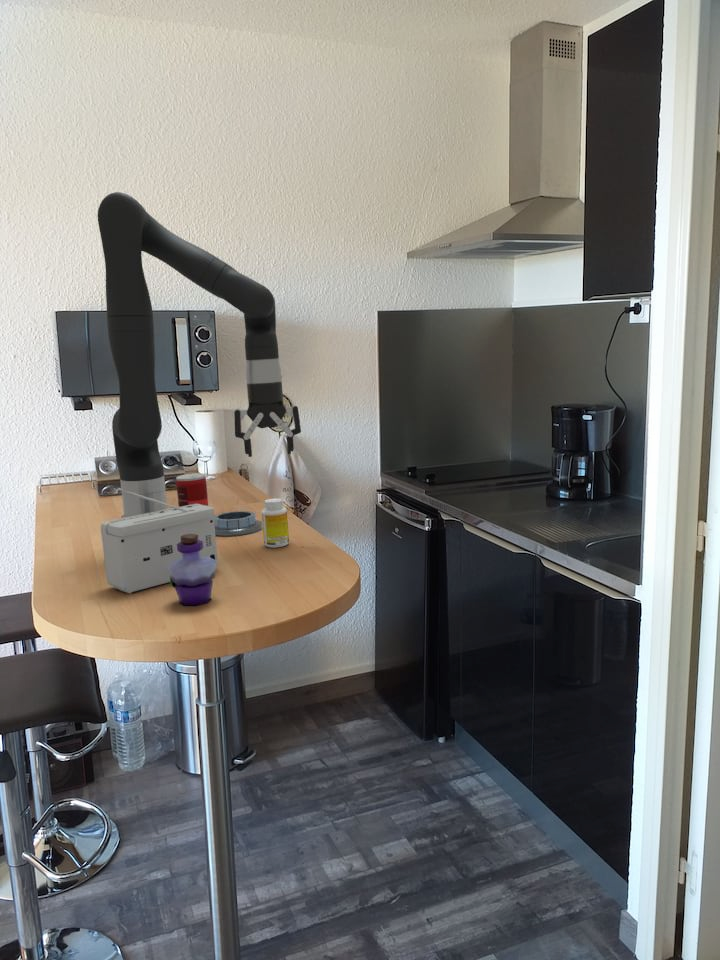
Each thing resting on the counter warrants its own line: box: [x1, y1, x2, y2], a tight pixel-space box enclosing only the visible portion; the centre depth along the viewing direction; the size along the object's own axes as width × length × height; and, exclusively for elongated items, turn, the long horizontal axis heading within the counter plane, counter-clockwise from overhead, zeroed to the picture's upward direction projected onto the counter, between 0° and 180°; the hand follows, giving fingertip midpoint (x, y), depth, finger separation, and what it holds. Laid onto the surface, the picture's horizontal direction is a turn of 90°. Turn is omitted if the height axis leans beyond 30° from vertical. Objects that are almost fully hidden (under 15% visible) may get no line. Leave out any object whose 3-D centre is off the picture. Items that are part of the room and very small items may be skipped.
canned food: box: [175, 473, 209, 507], centre depth 203 cm, size 8×8×11 cm
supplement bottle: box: [261, 498, 290, 549], centre depth 167 cm, size 6×6×10 cm
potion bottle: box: [166, 534, 217, 607], centre depth 132 cm, size 9×9×12 cm
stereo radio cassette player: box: [100, 487, 219, 595], centre depth 145 cm, size 21×8×20 cm, turn 131°
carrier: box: [214, 510, 263, 538], centre depth 185 cm, size 13×13×4 cm
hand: (270, 455), depth 165 cm, fingers open, 8 cm apart
